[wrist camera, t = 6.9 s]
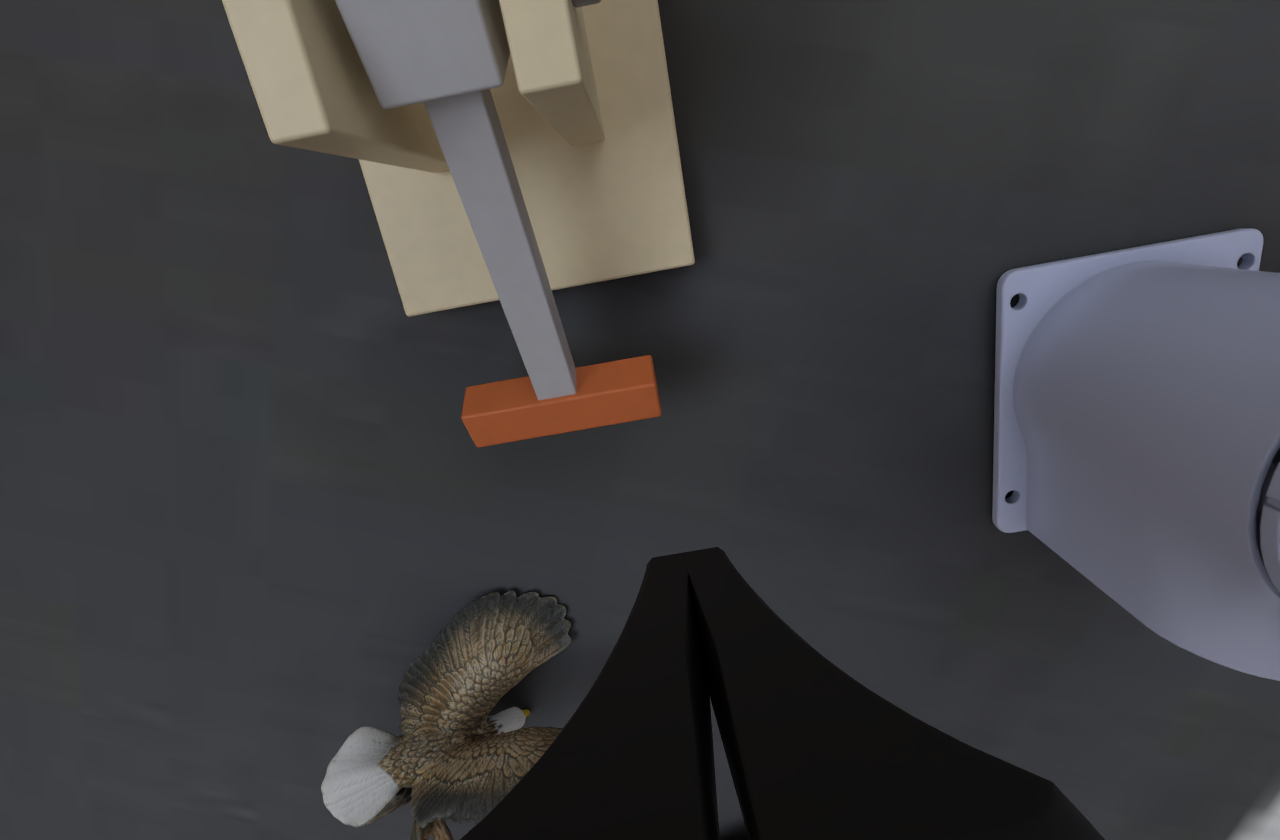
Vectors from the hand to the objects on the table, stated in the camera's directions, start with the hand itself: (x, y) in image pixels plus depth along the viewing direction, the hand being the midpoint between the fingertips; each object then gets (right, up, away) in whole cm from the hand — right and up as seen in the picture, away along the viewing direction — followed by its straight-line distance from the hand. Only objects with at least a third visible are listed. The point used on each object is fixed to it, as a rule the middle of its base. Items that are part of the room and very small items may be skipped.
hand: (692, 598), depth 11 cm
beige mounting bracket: (-5, +13, +6) cm, 15 cm away
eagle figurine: (-7, -7, +14) cm, 17 cm away
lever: (-4, +8, +3) cm, 10 cm away
